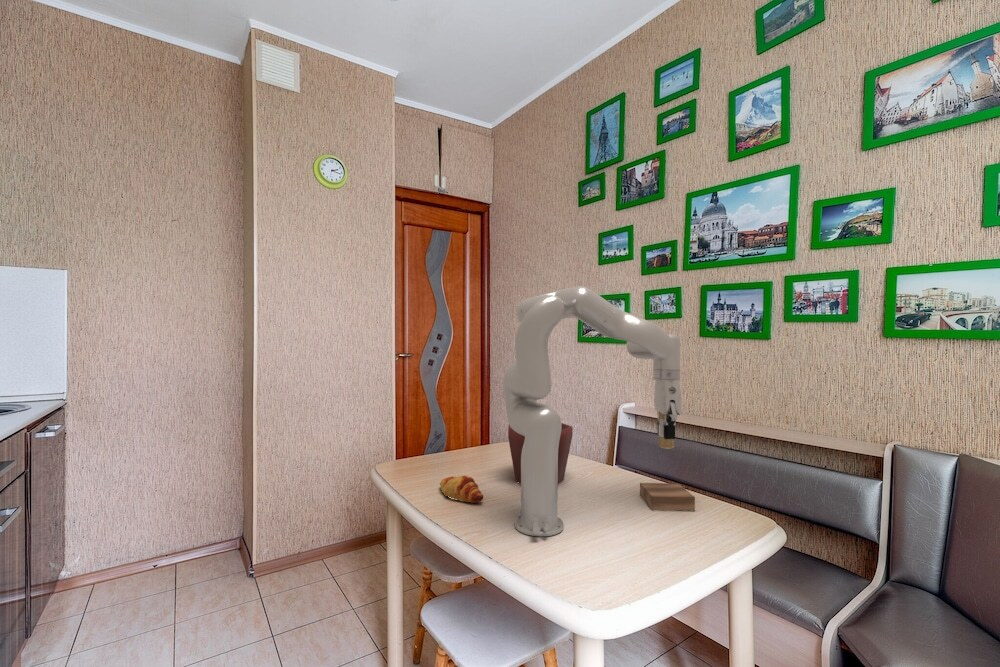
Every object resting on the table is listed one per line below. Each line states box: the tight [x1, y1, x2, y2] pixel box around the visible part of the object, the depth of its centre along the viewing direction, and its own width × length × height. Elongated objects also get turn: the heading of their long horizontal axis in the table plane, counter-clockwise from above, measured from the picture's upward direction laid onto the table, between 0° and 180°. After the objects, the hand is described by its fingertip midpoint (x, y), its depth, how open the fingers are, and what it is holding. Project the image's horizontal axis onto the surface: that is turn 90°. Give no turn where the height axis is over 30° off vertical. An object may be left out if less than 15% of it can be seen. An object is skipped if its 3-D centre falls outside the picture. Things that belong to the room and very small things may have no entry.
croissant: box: [439, 474, 484, 504], centre depth 137 cm, size 21×10×8 cm, turn 42°
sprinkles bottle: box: [658, 407, 675, 450], centre depth 133 cm, size 5×5×14 cm
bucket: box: [507, 422, 574, 485], centre depth 154 cm, size 24×22×25 cm
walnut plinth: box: [639, 482, 696, 511], centre depth 132 cm, size 12×12×4 cm
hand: (666, 436), depth 133 cm, fingers closed on sprinkles bottle, 4 cm apart
